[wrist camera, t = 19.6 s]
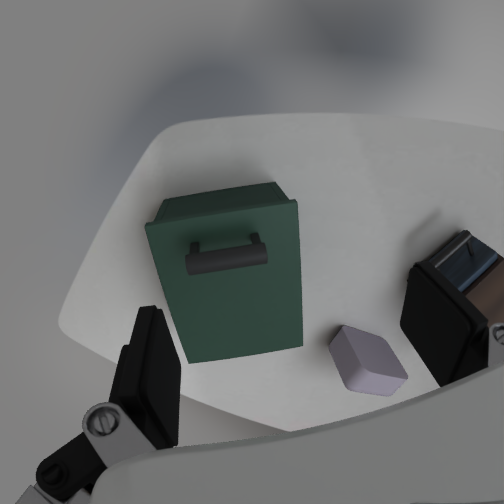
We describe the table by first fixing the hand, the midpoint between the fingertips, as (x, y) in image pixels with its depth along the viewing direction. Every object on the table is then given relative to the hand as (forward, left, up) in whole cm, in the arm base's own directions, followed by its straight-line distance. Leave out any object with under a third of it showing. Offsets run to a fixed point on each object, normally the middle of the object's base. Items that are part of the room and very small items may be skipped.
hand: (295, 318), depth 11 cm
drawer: (+18, +30, -25) cm, 43 cm away
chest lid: (+9, -2, -17) cm, 19 cm away
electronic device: (+29, +15, -26) cm, 41 cm away
